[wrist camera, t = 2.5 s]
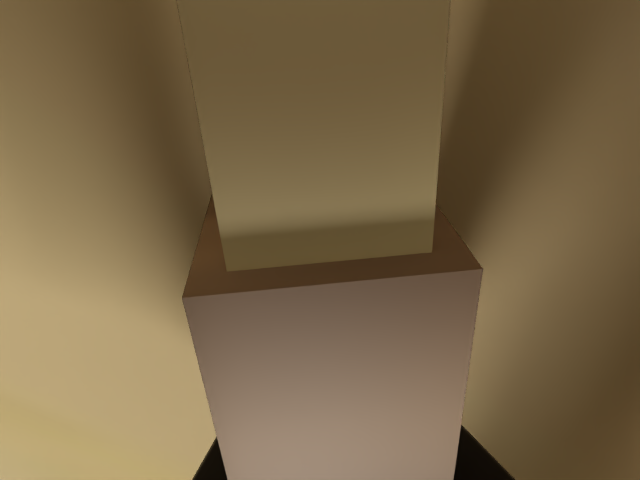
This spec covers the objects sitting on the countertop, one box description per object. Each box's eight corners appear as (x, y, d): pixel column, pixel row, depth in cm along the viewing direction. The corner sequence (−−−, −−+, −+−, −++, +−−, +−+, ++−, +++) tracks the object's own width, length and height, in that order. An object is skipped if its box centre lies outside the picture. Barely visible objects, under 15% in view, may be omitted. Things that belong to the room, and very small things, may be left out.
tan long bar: (392, 565, 13) (422, 711, 11) (285, 578, 13) (289, 730, 10) (418, -63, 6) (539, -99, 3) (173, -48, 6) (83, -72, 3)
